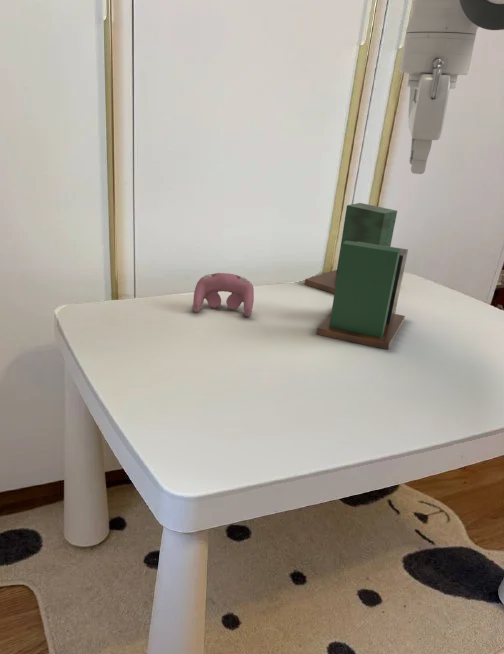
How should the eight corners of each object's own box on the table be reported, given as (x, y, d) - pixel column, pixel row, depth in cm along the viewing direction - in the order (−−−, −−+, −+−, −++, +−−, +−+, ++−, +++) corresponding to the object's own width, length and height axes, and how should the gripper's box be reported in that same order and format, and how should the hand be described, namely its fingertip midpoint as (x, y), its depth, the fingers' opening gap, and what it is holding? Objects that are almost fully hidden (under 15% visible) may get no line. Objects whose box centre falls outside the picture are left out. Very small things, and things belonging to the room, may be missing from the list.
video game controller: (252, 319, 106) (256, 277, 106) (251, 316, 101) (256, 272, 101) (193, 314, 107) (197, 272, 106) (190, 310, 102) (195, 267, 102)
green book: (383, 333, 96) (400, 248, 90) (380, 338, 95) (398, 252, 89) (332, 322, 99) (345, 240, 93) (329, 327, 98) (342, 243, 91)
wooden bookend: (403, 321, 104) (419, 249, 99) (387, 349, 94) (404, 270, 88) (338, 308, 108) (349, 238, 103) (316, 334, 97) (327, 257, 92)
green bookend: (393, 286, 121) (407, 211, 115) (353, 300, 113) (367, 220, 106) (345, 271, 128) (356, 200, 121) (304, 284, 119) (314, 208, 113)
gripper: (468, 58, 75) (444, 180, 81) (454, 61, 92) (434, 161, 99) (413, 57, 76) (393, 177, 83) (409, 59, 94) (393, 158, 100)
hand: (416, 168), depth 91 cm, fingers open, 8 cm apart
